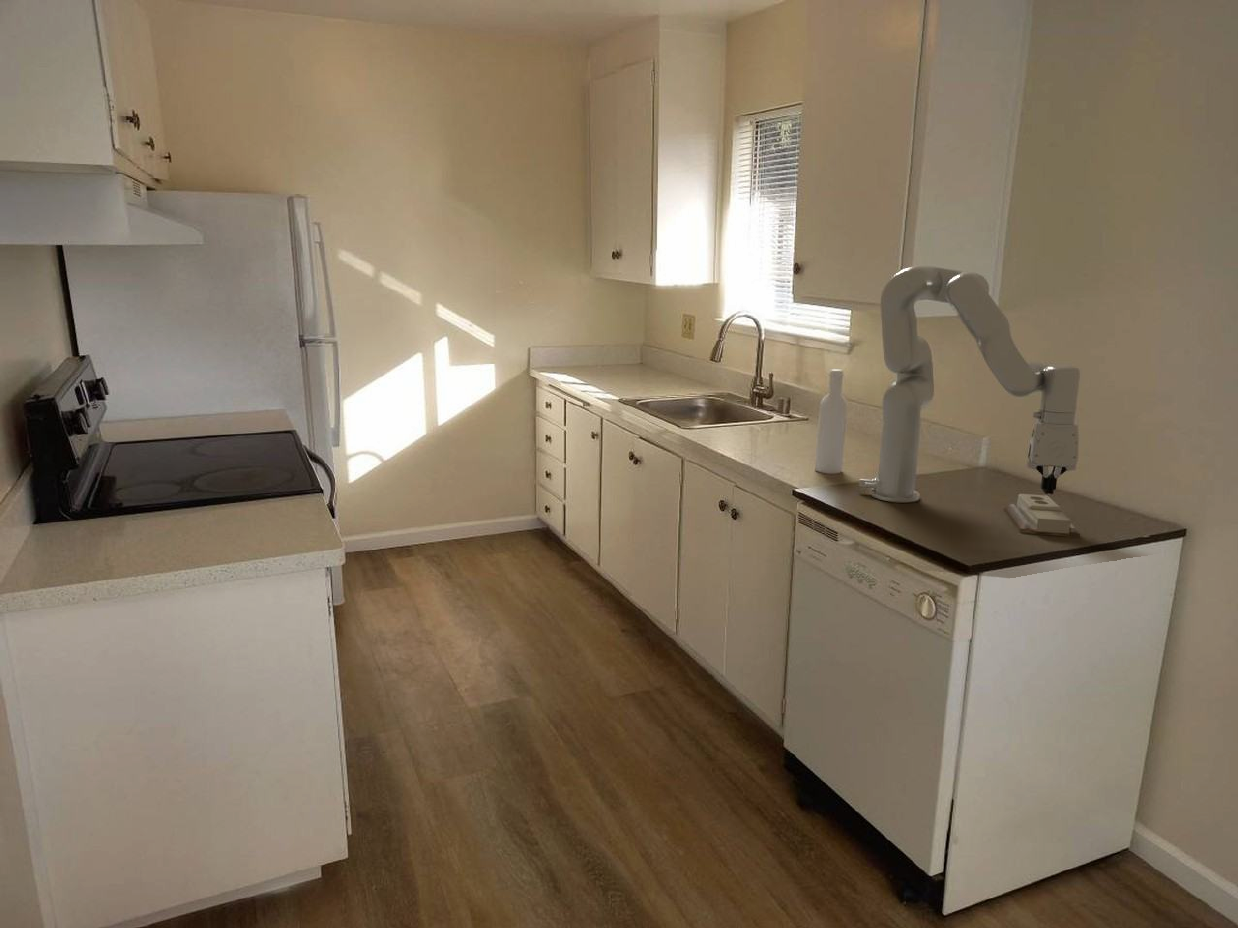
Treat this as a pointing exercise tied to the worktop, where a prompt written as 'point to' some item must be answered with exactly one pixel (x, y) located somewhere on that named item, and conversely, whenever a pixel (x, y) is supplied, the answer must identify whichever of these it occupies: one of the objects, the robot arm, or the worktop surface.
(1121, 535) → the worktop surface
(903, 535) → the worktop surface
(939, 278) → the robot arm
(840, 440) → the bottle
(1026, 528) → the rail board
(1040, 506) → the electrical outlet
